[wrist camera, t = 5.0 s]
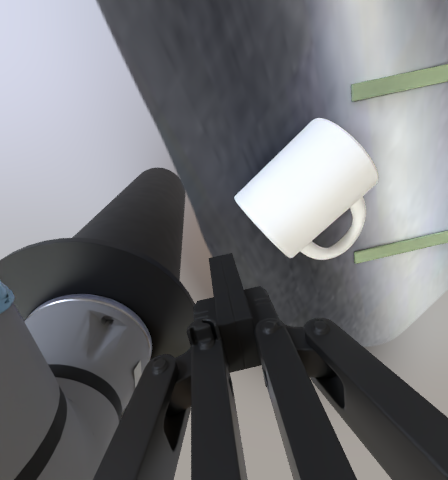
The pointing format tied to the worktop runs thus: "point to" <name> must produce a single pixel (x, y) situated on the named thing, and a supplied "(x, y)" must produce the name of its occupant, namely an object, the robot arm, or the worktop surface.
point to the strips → (383, 88)
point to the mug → (311, 190)
